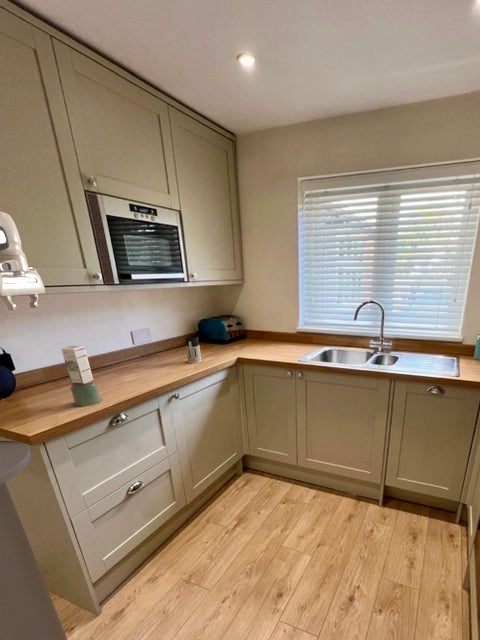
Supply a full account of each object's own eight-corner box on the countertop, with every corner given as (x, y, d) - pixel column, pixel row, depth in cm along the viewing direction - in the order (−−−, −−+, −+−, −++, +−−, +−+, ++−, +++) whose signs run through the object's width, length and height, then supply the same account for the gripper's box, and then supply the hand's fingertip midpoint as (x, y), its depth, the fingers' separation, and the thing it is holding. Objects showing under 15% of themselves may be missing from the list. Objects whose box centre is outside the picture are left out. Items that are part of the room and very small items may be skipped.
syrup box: (94, 379, 138) (85, 345, 133) (83, 384, 132) (73, 348, 127) (81, 379, 139) (72, 345, 133) (70, 383, 133) (60, 348, 128)
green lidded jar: (92, 406, 135) (86, 385, 131) (70, 406, 134) (64, 385, 131) (104, 398, 143) (99, 378, 140) (83, 398, 143) (78, 378, 140)
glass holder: (203, 359, 209) (200, 335, 204) (199, 365, 196) (196, 339, 191) (188, 360, 208) (185, 336, 202) (184, 365, 195) (180, 340, 189)
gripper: (26, 266, 118) (37, 306, 123) (-28, 265, 99) (-11, 312, 104) (43, 266, 119) (54, 306, 123) (-6, 264, 99) (9, 311, 104)
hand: (24, 309), depth 114 cm, fingers open, 8 cm apart
